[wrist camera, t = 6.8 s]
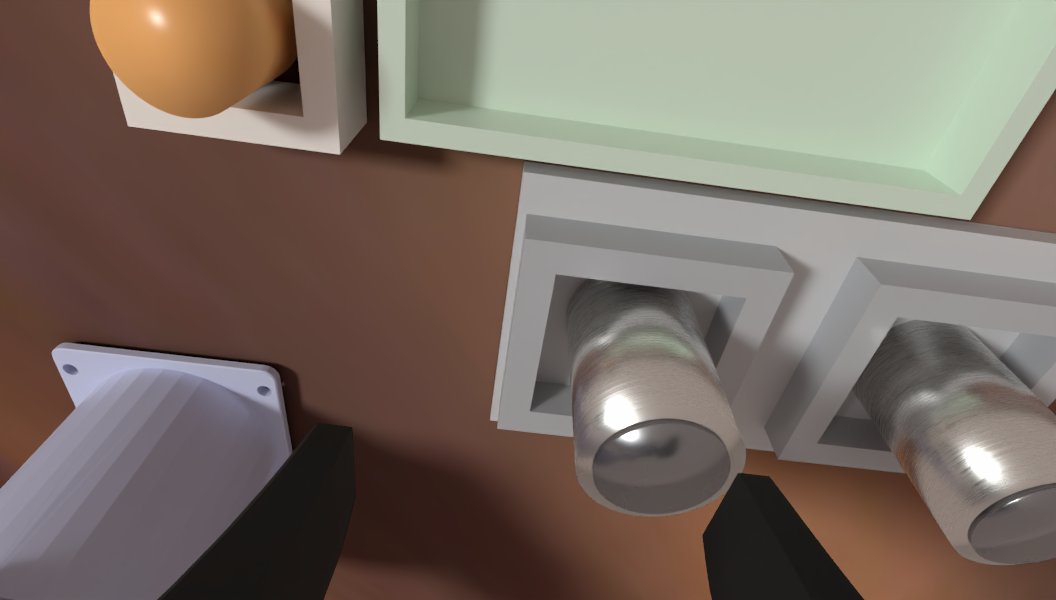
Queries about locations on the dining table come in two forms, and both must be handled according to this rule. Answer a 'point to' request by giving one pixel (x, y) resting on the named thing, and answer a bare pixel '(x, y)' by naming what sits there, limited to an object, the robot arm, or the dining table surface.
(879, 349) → the cylinder
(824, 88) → the tray
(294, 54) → the button cap
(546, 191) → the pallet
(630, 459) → the cylinder
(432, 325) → the dining table surface
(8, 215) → the dining table surface
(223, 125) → the button housing
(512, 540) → the dining table surface
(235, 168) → the dining table surface
